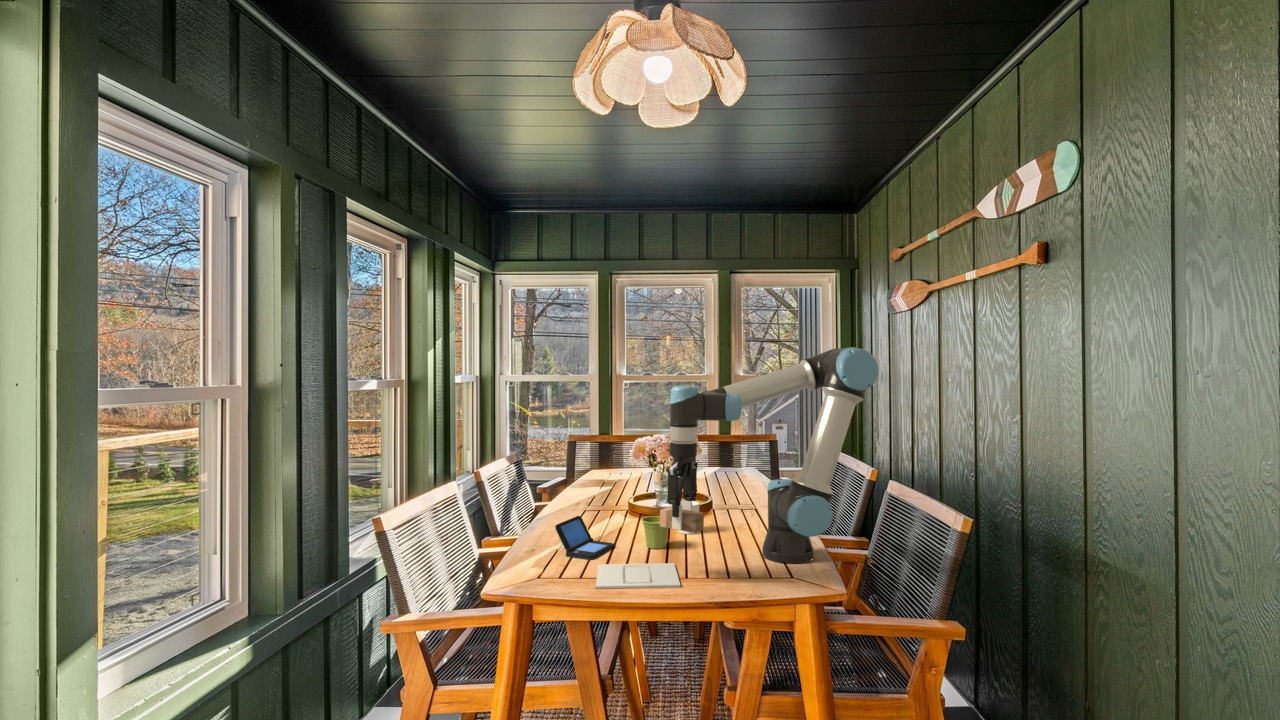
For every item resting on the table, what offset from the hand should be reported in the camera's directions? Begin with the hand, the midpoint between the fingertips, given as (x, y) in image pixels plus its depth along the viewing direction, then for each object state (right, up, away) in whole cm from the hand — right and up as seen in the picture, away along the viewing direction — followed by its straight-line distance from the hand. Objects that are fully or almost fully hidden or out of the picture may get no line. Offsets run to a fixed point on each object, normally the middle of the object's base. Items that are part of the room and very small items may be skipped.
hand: (681, 526), depth 175 cm
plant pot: (-6, -14, +28) cm, 32 cm away
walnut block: (0, 0, 0) cm, 0 cm away
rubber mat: (-12, -14, 0) cm, 18 cm away
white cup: (+5, -14, +45) cm, 48 cm away
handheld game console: (-29, -14, +24) cm, 40 cm away
